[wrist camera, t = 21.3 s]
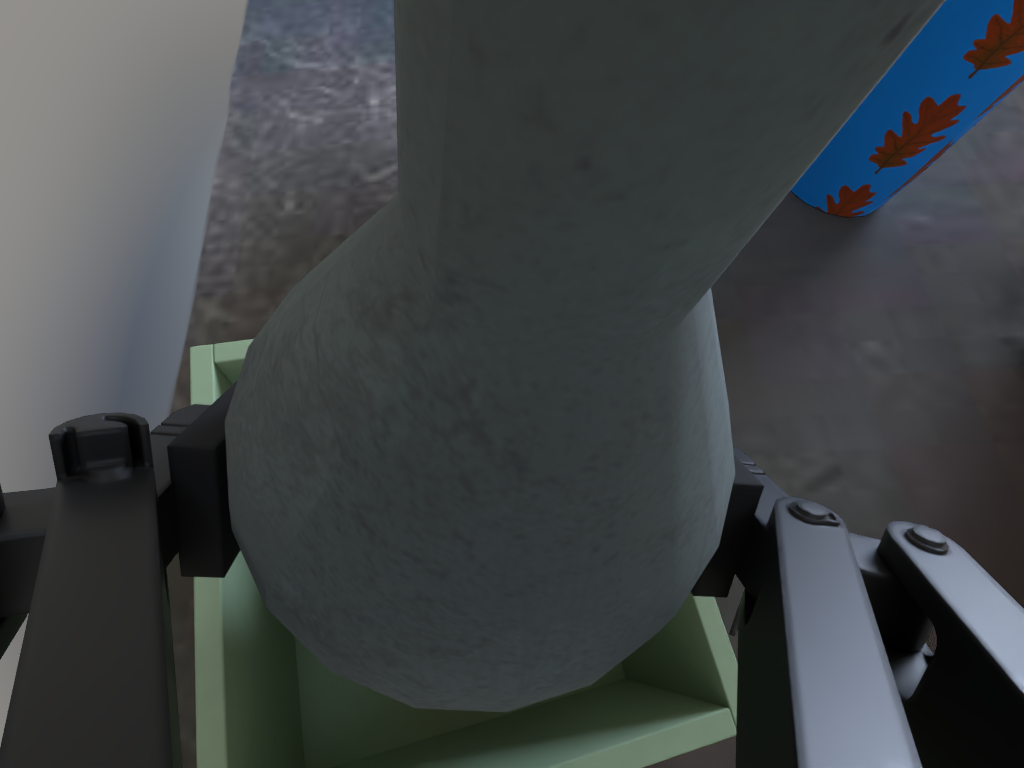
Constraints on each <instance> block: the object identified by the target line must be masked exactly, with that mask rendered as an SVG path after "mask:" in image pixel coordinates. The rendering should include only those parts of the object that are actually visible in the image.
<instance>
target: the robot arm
mask: <svg viewBox="0 0 1024 768" xmlns="http://www.w3.org/2000/svg"><path fill="white" fill-rule="evenodd" d="M237 381H238V380H237ZM237 381H236V382H235V383H234V384H233V385H232V386H231V387H230V388H229V389H228V390H227V391H226V392H224V393H223V394H222V395H221V396H220V397H219V398H218V399H217V400H216V401H215V402H214V403H213V404H212V405H203V404H193V405H191V406H188V407H186V408H183V409H181V410H179V411H176V412H174V413H173V414H172V415H170V416H169V417H168V418H167V419H166V420H164V421H163V422H162V423H161V425H158V426H157V427H156V428H155V429H154V430H152V431H151V434H150V432H149V424H148V423H147V421H146V420H145V418H142V417H140V416H137V415H134V414H127V413H101V414H95V415H89V416H83V417H80V418H77V419H74V420H70V421H67V422H65V423H63V424H61V425H59V426H57V427H55V428H54V429H53V430H52V431H51V433H50V434H49V440H50V445H51V450H52V455H53V460H54V465H55V471H56V476H57V485H56V487H55V488H48V489H40V490H30V491H20V492H10V493H2V489H1V485H0V659H1V658H2V656H3V654H4V653H5V651H6V649H7V648H8V646H9V645H10V642H11V641H12V639H13V638H14V636H15V635H16V633H17V632H18V630H19V628H20V627H21V625H22V623H23V622H24V620H25V618H26V617H27V614H28V613H29V616H28V620H27V625H26V630H25V635H24V640H23V644H22V649H21V653H20V658H19V663H18V667H17V672H16V677H15V681H14V686H13V691H12V695H11V700H10V705H9V710H8V714H7V719H6V724H5V728H4V733H3V738H2V742H1V747H0V768H182V755H181V742H180V729H179V716H178V704H177V691H176V678H175V665H174V652H173V640H172V627H171V614H170V601H169V588H168V579H167V571H166V567H167V566H168V565H169V563H170V562H171V561H172V559H173V558H174V557H175V555H176V554H177V553H178V551H179V560H180V569H181V576H186V577H212V578H225V576H226V574H227V572H228V571H229V569H230V567H231V566H232V564H233V562H234V560H235V559H236V557H237V555H238V554H239V552H240V547H239V545H238V543H237V541H236V538H235V536H234V534H233V532H232V527H231V518H230V510H229V496H228V477H227V457H226V438H225V419H226V416H227V412H228V409H229V406H230V403H231V400H232V397H233V393H234V390H235V387H236V384H237ZM733 455H734V465H735V477H734V481H733V486H732V490H731V495H730V499H729V504H728V508H727V513H726V517H725V521H724V526H723V530H722V535H721V539H720V544H719V547H718V548H717V550H716V552H715V553H714V555H713V556H712V558H711V560H710V561H709V563H708V564H707V566H706V568H705V569H704V571H703V572H702V574H701V576H700V577H699V579H698V580H697V582H696V584H695V585H694V587H693V588H692V590H691V593H692V595H693V596H704V597H727V596H728V593H729V590H730V587H731V584H732V581H733V578H734V575H735V574H736V576H737V577H738V578H739V580H740V581H741V583H742V584H743V586H744V587H745V590H744V592H743V595H742V598H741V601H740V604H739V607H738V610H737V613H736V615H735V618H734V621H733V624H732V627H731V630H730V633H729V634H730V635H732V636H735V634H736V632H737V630H738V675H737V726H736V768H1024V609H1023V608H1022V607H1021V606H1020V605H1019V604H1018V603H1017V602H1016V601H1015V600H1014V599H1013V598H1012V597H1011V596H1010V595H1009V594H1008V593H1007V592H1006V591H1005V590H1004V589H1003V588H1002V587H1001V586H1000V585H999V584H998V583H997V582H996V581H995V580H994V579H993V578H992V577H991V576H990V575H989V574H988V573H987V572H986V571H985V570H984V569H983V568H982V567H981V566H980V565H979V564H978V563H977V562H976V561H975V560H974V559H973V558H972V557H971V556H970V555H969V554H968V553H967V552H966V551H965V550H964V549H963V548H962V547H960V546H959V545H958V544H956V543H955V542H954V541H953V540H951V539H949V538H948V537H946V536H944V535H942V534H941V533H940V532H939V531H937V530H935V529H933V528H931V529H929V527H928V526H925V525H922V524H918V525H917V524H914V523H910V522H902V521H894V522H890V523H888V526H887V528H886V530H885V532H884V535H883V537H882V539H881V540H879V539H874V538H870V537H866V536H862V535H858V534H854V533H849V532H848V530H847V527H846V525H845V523H844V522H843V520H842V519H841V518H840V517H839V516H838V515H837V514H835V513H834V512H833V511H831V510H830V509H828V508H826V507H824V506H822V505H820V504H818V503H815V502H812V501H810V500H807V499H803V498H798V497H789V496H788V495H787V494H786V493H785V492H784V491H783V490H782V489H781V488H780V487H779V486H778V485H777V484H776V483H775V482H774V481H773V480H772V479H771V478H770V477H769V476H768V475H765V472H764V471H763V470H762V469H761V468H760V467H759V466H756V464H755V463H754V462H753V461H752V460H751V459H750V458H749V457H748V456H747V455H746V454H745V453H744V452H742V451H741V450H739V449H737V448H735V447H734V446H733ZM933 627H935V631H936V635H937V647H936V650H935V653H934V654H933V653H932V652H931V650H930V649H929V647H928V646H927V645H926V643H925V642H926V640H927V638H928V636H929V635H930V633H931V631H932V629H933Z"/></svg>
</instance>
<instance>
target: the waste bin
mask: <svg viewBox="0 0 1024 768" xmlns="http://www.w3.org/2000/svg"><path fill="white" fill-rule="evenodd" d="M253 340H254V339H250V340H242V341H234V342H226V343H218V344H214V346H213V345H203V346H195V347H190V388H191V405H193V404H203V405H212V404H213V403H214V402H215V401H216V400H217V399H218V398H219V397H220V396H221V395H222V394H223V393H224V392H226V391H227V390H228V389H229V388H230V387H231V386H232V385H233V384H234V383H235V382H236V381H237V380H238V378H239V374H240V371H241V368H242V365H243V362H244V359H245V355H246V352H247V349H248V346H249V345H250V344H251V342H252V341H253ZM194 630H195V690H196V750H197V768H643V767H646V766H649V765H652V764H654V763H657V762H660V761H663V760H666V759H669V758H672V757H675V756H678V755H681V754H683V753H686V752H689V751H692V750H695V749H698V748H701V747H704V746H707V745H710V744H712V743H715V742H718V741H721V740H724V739H727V738H730V737H733V736H736V726H737V675H738V664H737V661H736V658H735V655H734V652H733V649H732V646H731V644H730V641H729V638H728V635H727V632H726V629H725V626H724V623H723V621H722V618H721V615H720V612H719V609H718V606H717V603H716V600H715V598H714V597H704V596H693V595H692V593H691V591H690V593H689V595H688V596H687V598H686V599H685V601H684V603H683V604H682V606H681V607H680V609H679V611H678V612H677V614H676V615H675V616H674V617H673V618H672V619H671V620H670V621H669V622H668V623H667V624H666V625H665V626H664V627H663V628H662V629H661V630H660V631H659V632H658V633H657V634H656V635H655V636H653V637H652V638H651V639H649V640H648V641H647V642H646V643H644V644H643V645H642V646H641V647H639V648H638V649H637V650H635V651H634V652H633V653H632V654H630V655H629V656H628V657H626V658H625V659H624V660H623V661H621V662H620V663H619V664H617V665H616V666H615V667H614V668H612V669H611V670H610V671H608V672H607V673H606V674H605V675H603V676H602V677H601V678H600V679H598V680H597V681H596V682H594V683H593V684H592V685H590V686H587V687H584V688H580V689H577V690H574V691H571V692H568V693H565V694H562V695H559V696H556V697H553V698H549V699H546V700H543V701H540V702H537V703H534V704H531V705H528V706H525V707H522V708H518V709H515V710H512V711H509V712H489V711H467V710H445V709H423V708H413V707H411V706H409V705H407V704H404V703H402V702H400V701H397V700H395V699H393V698H390V697H388V696H386V695H383V694H381V693H379V692H377V691H374V690H372V689H370V688H367V687H365V686H363V685H360V684H358V683H356V682H354V681H351V680H349V679H347V678H344V677H342V676H340V675H337V674H335V673H333V672H330V671H329V670H328V669H327V668H326V667H325V666H324V665H323V664H322V663H321V662H320V661H319V660H318V659H317V658H316V657H315V656H314V655H313V654H312V653H311V652H310V651H309V650H308V649H307V648H306V647H305V646H304V645H303V644H302V643H301V642H300V641H299V640H298V639H297V638H296V637H295V636H294V635H293V634H292V633H291V632H290V631H289V630H288V629H287V628H286V627H285V626H284V625H283V624H282V623H281V622H280V621H279V620H278V619H277V618H276V617H275V616H274V615H273V614H272V613H271V612H270V611H269V610H268V609H267V608H266V606H265V604H264V601H263V599H262V597H261V595H260V592H259V590H258V588H257V586H256V583H255V581H254V579H253V577H252V574H251V572H250V570H249V568H248V565H247V563H246V561H245V559H244V556H243V554H242V552H241V550H240V552H239V554H238V555H237V557H236V559H235V560H234V562H233V564H232V566H231V567H230V569H229V571H228V572H227V574H226V576H225V578H212V577H194Z"/></svg>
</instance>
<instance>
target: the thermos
mask: <svg viewBox="0 0 1024 768" xmlns="http://www.w3.org/2000/svg"><path fill="white" fill-rule="evenodd" d="M1023 81H1024V0H946V1H945V2H944V3H943V4H942V6H941V7H940V8H939V9H938V11H937V12H936V13H935V14H934V15H933V17H932V18H931V19H930V20H929V22H928V23H927V24H926V25H925V26H924V28H923V29H922V30H921V31H920V33H919V34H918V35H917V36H916V37H915V39H914V40H913V41H912V42H911V44H910V45H909V46H908V47H907V48H906V50H905V51H904V52H903V53H902V55H901V56H900V57H899V58H898V59H897V61H896V62H895V63H894V64H893V66H892V67H891V68H890V69H889V70H888V72H887V73H886V74H885V75H884V77H883V78H882V79H881V80H880V81H879V83H878V84H877V85H876V86H875V88H874V89H873V90H872V91H871V92H870V94H869V95H868V96H867V97H866V99H865V100H864V101H863V102H862V103H861V105H860V106H859V107H858V108H857V110H856V111H855V112H854V113H853V114H852V116H851V117H850V118H849V119H848V121H847V122H846V123H845V124H844V125H843V127H842V128H841V129H840V130H839V132H838V133H837V134H836V135H835V136H834V138H833V139H832V140H831V141H830V143H829V144H828V145H827V146H826V147H825V149H824V150H823V151H822V152H821V154H820V155H819V156H818V157H817V158H816V160H815V161H814V162H813V163H812V165H811V166H810V167H809V168H808V169H807V171H806V172H805V173H804V174H803V176H802V177H801V178H800V179H799V180H798V182H797V183H796V184H795V185H794V187H793V188H792V189H791V190H790V191H792V192H793V193H794V194H795V195H797V196H798V197H799V198H800V199H801V200H803V201H804V202H805V203H807V204H809V205H811V206H813V207H815V208H817V209H819V210H821V211H823V212H826V213H829V214H834V215H839V216H844V217H855V216H865V215H867V214H869V213H871V212H873V211H874V210H876V209H878V208H880V207H881V206H882V205H883V204H884V203H886V202H887V201H888V200H889V199H891V198H892V197H893V196H894V195H896V194H897V193H898V192H899V191H900V190H902V189H903V188H904V187H905V186H907V185H908V184H909V183H910V182H911V181H913V180H914V179H915V178H916V177H918V176H919V175H920V174H921V173H922V172H923V171H924V170H926V169H927V168H928V167H929V166H930V165H931V164H932V163H933V162H934V161H935V160H937V159H938V158H939V157H940V156H941V155H942V154H943V153H944V152H945V151H947V150H948V149H949V148H950V147H951V146H952V145H953V144H954V143H955V142H956V141H958V140H959V139H960V138H961V137H962V136H963V135H964V134H965V133H966V132H968V131H969V130H970V129H971V128H972V127H973V126H974V125H975V124H976V123H977V122H979V121H980V120H981V119H982V118H983V117H984V116H985V115H986V114H987V113H989V112H990V111H991V110H992V109H993V108H994V107H995V106H996V105H997V104H998V103H1000V102H1001V101H1002V100H1003V99H1004V98H1005V97H1006V96H1007V95H1008V94H1010V93H1011V92H1012V91H1013V90H1014V89H1015V88H1016V87H1017V86H1018V85H1019V84H1021V83H1022V82H1023Z"/></svg>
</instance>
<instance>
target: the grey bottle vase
mask: <svg viewBox="0 0 1024 768" xmlns="http://www.w3.org/2000/svg"><path fill="white" fill-rule="evenodd" d="M945 1H946V0H394V26H395V64H396V102H397V140H398V178H399V193H398V194H397V195H396V196H395V197H393V198H392V199H391V200H390V201H389V202H388V203H387V204H386V205H384V206H383V207H382V208H381V209H380V210H379V211H378V212H377V213H375V214H374V215H373V216H372V217H371V218H370V219H369V220H367V221H366V222H365V223H364V224H363V225H362V226H361V227H360V228H358V229H357V230H356V231H355V232H354V233H353V234H352V235H351V236H349V237H348V238H347V239H346V240H345V241H344V242H343V243H342V244H340V245H339V246H338V247H337V248H336V249H335V250H334V251H333V252H331V253H330V254H329V255H328V256H327V257H326V258H325V259H323V260H322V261H321V262H320V263H319V264H318V265H317V266H316V267H314V268H313V269H312V270H311V271H310V272H309V273H308V274H307V275H305V276H304V277H303V278H302V279H301V280H300V281H299V282H298V283H296V284H295V285H294V286H293V287H292V288H291V290H290V291H289V292H288V294H287V295H286V296H285V298H284V299H283V300H282V302H281V303H280V304H279V306H278V307H277V309H276V310H275V311H274V313H273V314H272V315H271V317H270V318H269V319H268V321H267V322H266V323H265V325H264V326H263V327H262V329H261V330H260V332H259V333H258V334H257V336H256V337H255V338H254V340H253V341H252V342H251V344H250V345H249V346H248V349H247V352H246V355H245V359H244V362H243V365H242V368H241V371H240V374H239V378H238V381H237V384H236V387H235V390H234V393H233V397H232V400H231V403H230V406H229V409H228V412H227V416H226V419H225V438H226V457H227V477H228V496H229V510H230V518H231V527H232V532H233V534H234V536H235V538H236V541H237V543H238V545H239V547H240V550H241V552H242V554H243V556H244V559H245V561H246V563H247V565H248V568H249V570H250V572H251V574H252V577H253V579H254V581H255V583H256V586H257V588H258V590H259V592H260V595H261V597H262V599H263V601H264V604H265V606H266V608H267V609H268V610H269V611H270V612H271V613H272V614H273V615H274V616H275V617H276V618H277V619H278V620H279V621H280V622H281V623H282V624H283V625H284V626H285V627H286V628H287V629H288V630H289V631H290V632H291V633H292V634H293V635H294V636H295V637H296V638H297V639H298V640H299V641H300V642H301V643H302V644H303V645H304V646H305V647H306V648H307V649H308V650H309V651H310V652H311V653H312V654H313V655H314V656H315V657H316V658H317V659H318V660H319V661H320V662H321V663H322V664H323V665H324V666H325V667H326V668H327V669H328V670H329V671H330V672H333V673H335V674H337V675H340V676H342V677H344V678H347V679H349V680H351V681H354V682H356V683H358V684H360V685H363V686H365V687H367V688H370V689H372V690H374V691H377V692H379V693H381V694H383V695H386V696H388V697H390V698H393V699H395V700H397V701H400V702H402V703H404V704H407V705H409V706H411V707H413V708H423V709H445V710H467V711H489V712H509V711H512V710H515V709H518V708H522V707H525V706H528V705H531V704H534V703H537V702H540V701H543V700H546V699H549V698H553V697H556V696H559V695H562V694H565V693H568V692H571V691H574V690H577V689H580V688H584V687H587V686H590V685H592V684H593V683H594V682H596V681H597V680H598V679H600V678H601V677H602V676H603V675H605V674H606V673H607V672H608V671H610V670H611V669H612V668H614V667H615V666H616V665H617V664H619V663H620V662H621V661H623V660H624V659H625V658H626V657H628V656H629V655H630V654H632V653H633V652H634V651H635V650H637V649H638V648H639V647H641V646H642V645H643V644H644V643H646V642H647V641H648V640H649V639H651V638H652V637H653V636H655V635H656V634H657V633H658V632H659V631H660V630H661V629H662V628H663V627H664V626H665V625H666V624H667V623H668V622H669V621H670V620H671V619H672V618H673V617H674V616H675V615H676V614H677V612H678V611H679V609H680V607H681V606H682V604H683V603H684V601H685V599H686V598H687V596H688V595H689V593H690V591H691V590H692V588H693V587H694V585H695V584H696V582H697V580H698V579H699V577H700V576H701V574H702V572H703V571H704V569H705V568H706V566H707V564H708V563H709V561H710V560H711V558H712V556H713V555H714V553H715V552H716V550H717V548H718V547H719V544H720V539H721V535H722V530H723V526H724V521H725V517H726V513H727V508H728V504H729V499H730V495H731V490H732V486H733V481H734V477H735V465H734V455H733V445H732V435H731V425H730V415H729V404H728V397H727V391H726V384H725V378H724V371H723V364H722V358H721V351H720V345H719V338H718V332H717V325H716V318H715V312H714V305H713V299H712V292H711V287H712V286H713V284H714V283H715V282H716V281H717V279H718V278H719V277H720V276H721V275H722V273H723V272H724V271H725V270H726V268H727V267H728V266H729V265H730V264H731V262H732V261H733V260H734V259H735V257H736V256H737V255H738V254H739V253H740V251H741V250H742V249H743V248H744V246H745V245H746V244H747V243H748V242H749V240H750V239H751V238H752V237H753V235H754V234H755V233H756V232H757V231H758V229H759V228H760V227H761V226H762V224H763V223H764V222H765V221H766V220H767V218H768V217H769V216H770V215H771V213H772V212H773V211H774V210H775V209H776V207H777V206H778V205H779V204H780V202H781V201H782V200H783V199H784V198H785V196H786V195H787V194H788V193H789V191H790V190H791V189H792V188H793V187H794V185H795V184H796V183H797V182H798V180H799V179H800V178H801V177H802V176H803V174H804V173H805V172H806V171H807V169H808V168H809V167H810V166H811V165H812V163H813V162H814V161H815V160H816V158H817V157H818V156H819V155H820V154H821V152H822V151H823V150H824V149H825V147H826V146H827V145H828V144H829V143H830V141H831V140H832V139H833V138H834V136H835V135H836V134H837V133H838V132H839V130H840V129H841V128H842V127H843V125H844V124H845V123H846V122H847V121H848V119H849V118H850V117H851V116H852V114H853V113H854V112H855V111H856V110H857V108H858V107H859V106H860V105H861V103H862V102H863V101H864V100H865V99H866V97H867V96H868V95H869V94H870V92H871V91H872V90H873V89H874V88H875V86H876V85H877V84H878V83H879V81H880V80H881V79H882V78H883V77H884V75H885V74H886V73H887V72H888V70H889V69H890V68H891V67H892V66H893V64H894V63H895V62H896V61H897V59H898V58H899V57H900V56H901V55H902V53H903V52H904V51H905V50H906V48H907V47H908V46H909V45H910V44H911V42H912V41H913V40H914V39H915V37H916V36H917V35H918V34H919V33H920V31H921V30H922V29H923V28H924V26H925V25H926V24H927V23H928V22H929V20H930V19H931V18H932V17H933V15H934V14H935V13H936V12H937V11H938V9H939V8H940V7H941V6H942V4H943V3H944V2H945Z"/></svg>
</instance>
